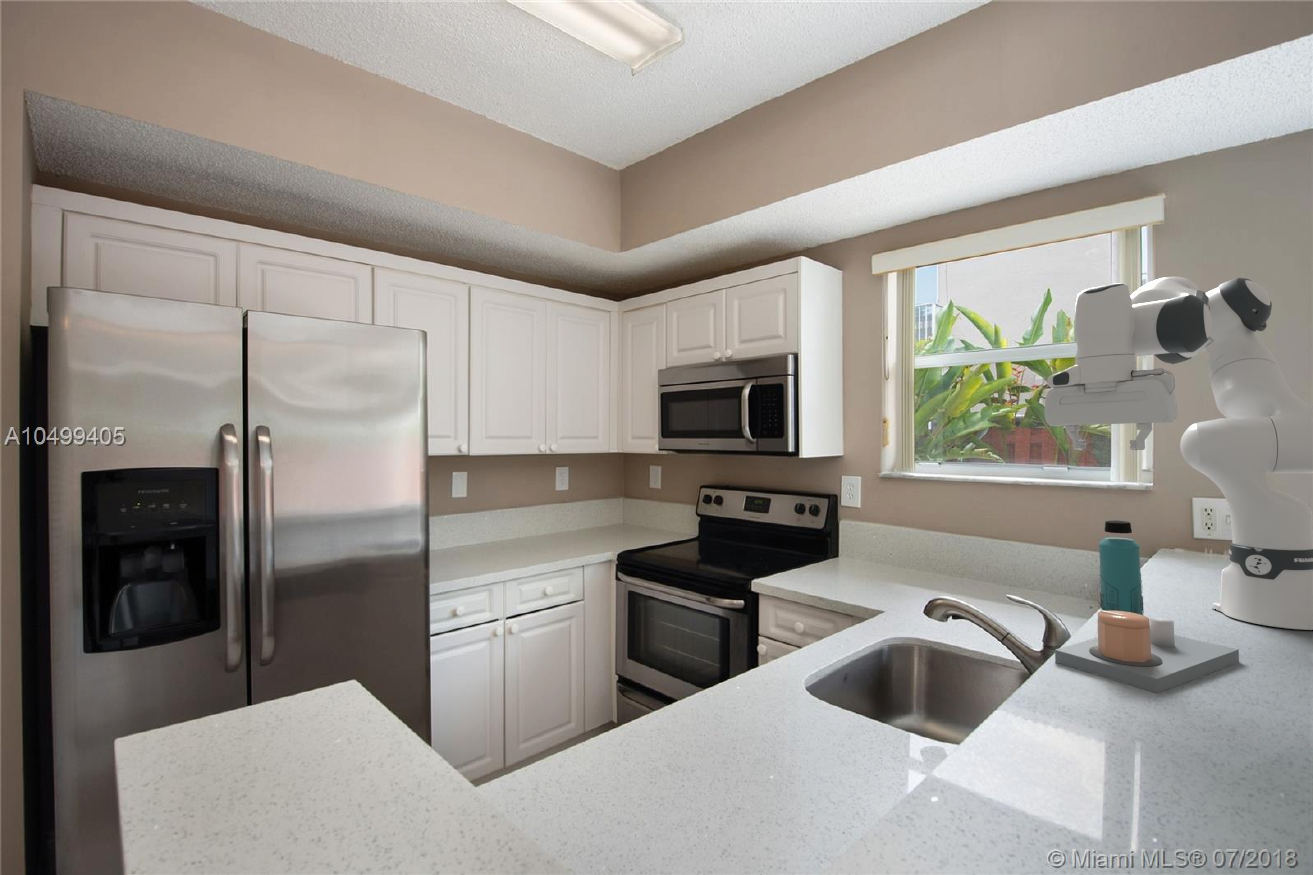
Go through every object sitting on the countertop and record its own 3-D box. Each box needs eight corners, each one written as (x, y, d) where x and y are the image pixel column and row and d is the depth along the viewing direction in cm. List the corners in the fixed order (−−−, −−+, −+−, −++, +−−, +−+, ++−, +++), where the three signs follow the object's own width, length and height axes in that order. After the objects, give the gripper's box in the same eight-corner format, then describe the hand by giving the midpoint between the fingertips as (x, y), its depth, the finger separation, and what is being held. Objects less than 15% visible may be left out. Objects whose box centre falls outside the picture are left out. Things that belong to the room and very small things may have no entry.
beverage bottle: (1152, 632, 112) (1148, 523, 112) (1111, 630, 113) (1107, 523, 113) (1132, 621, 118) (1128, 518, 118) (1093, 620, 120) (1090, 518, 120)
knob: (1158, 656, 94) (1157, 616, 94) (1138, 665, 91) (1137, 623, 91) (1111, 645, 99) (1109, 607, 99) (1090, 652, 96) (1089, 613, 96)
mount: (1137, 637, 109) (1136, 604, 109) (1239, 662, 96) (1237, 624, 96) (1055, 662, 98) (1054, 624, 99) (1157, 693, 86) (1155, 650, 86)
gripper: (1183, 367, 103) (1186, 449, 103) (1058, 379, 121) (1060, 448, 121) (1164, 366, 100) (1167, 450, 100) (1038, 379, 118) (1041, 450, 118)
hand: (1107, 449), depth 111 cm, fingers open, 8 cm apart
